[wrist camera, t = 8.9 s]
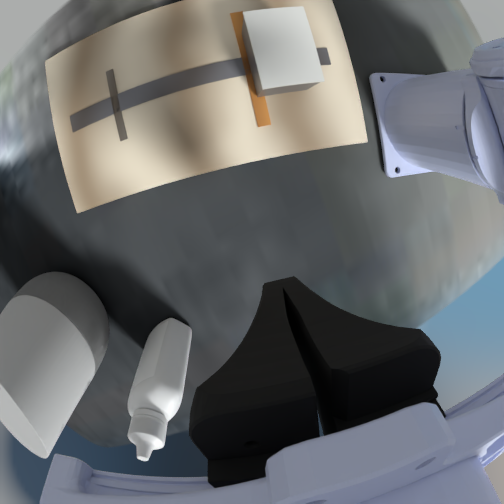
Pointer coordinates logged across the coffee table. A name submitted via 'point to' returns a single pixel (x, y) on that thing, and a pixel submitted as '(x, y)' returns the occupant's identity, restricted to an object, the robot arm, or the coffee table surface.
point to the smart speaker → (48, 356)
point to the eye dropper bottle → (158, 385)
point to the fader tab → (281, 50)
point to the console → (189, 99)
